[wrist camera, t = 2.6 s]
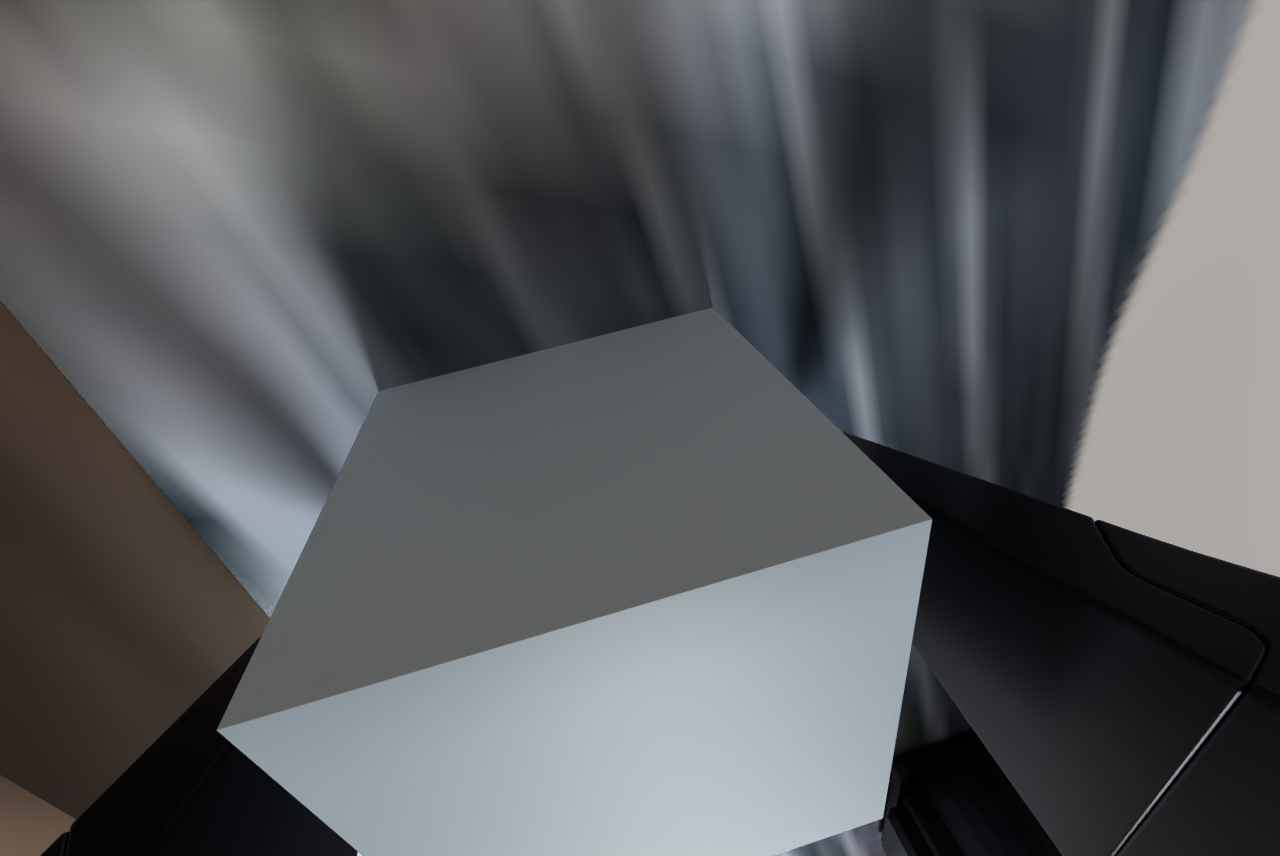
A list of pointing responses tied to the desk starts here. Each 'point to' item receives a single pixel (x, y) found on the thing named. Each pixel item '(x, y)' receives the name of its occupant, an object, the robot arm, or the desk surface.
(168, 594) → the walnut block
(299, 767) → the slate cube
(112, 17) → the desk surface
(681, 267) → the desk surface
